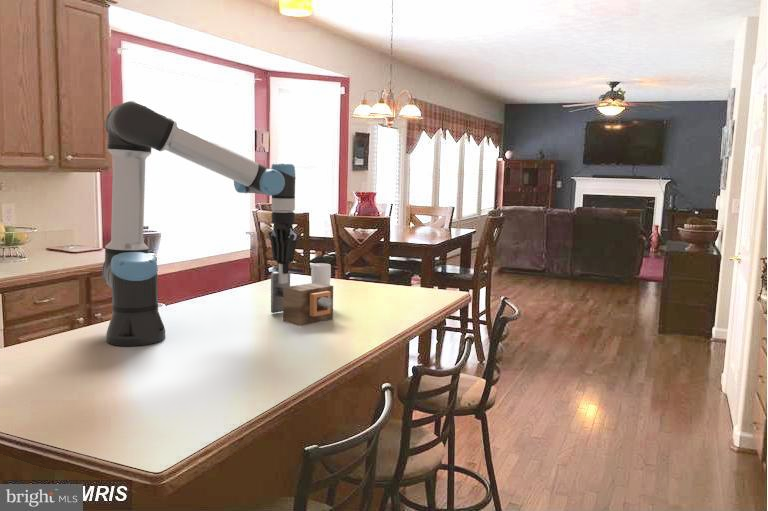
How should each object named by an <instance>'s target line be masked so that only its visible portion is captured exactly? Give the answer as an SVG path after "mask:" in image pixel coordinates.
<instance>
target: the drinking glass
mask: <svg viewBox="0 0 768 511" xmlns="http://www.w3.org/2000/svg"><path fill="white" fill-rule="evenodd" d="M310 270H311V271H310V277H311V279H310V280H311V283H322V284H327V285H331V276H332V266H331V264H329V263H323V262H322V263H321V262H319V263H318V262H317V263H312V264H311V269H310Z"/></svg>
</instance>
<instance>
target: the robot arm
mask: <svg viewBox="0 0 768 511" xmlns="http://www.w3.org/2000/svg"><path fill="white" fill-rule="evenodd" d="M104 127H105V131H106V135H107V152H109V153H110V155H111V156H112V187H111V189H112V191H111V193H112V195H111V228H110V229H111V233H110V242H108V243H107V244H105V246H104V247H105V248H104V249H105V250H104V260H103V261H104V262H103V265H102V267H101V272H102V278H103V279H104V282H105V283H106V285H107V286H108V287H109V288H110V289H111V298H112V299H111V305H112V315H111V317H110V321H109V324H108V327H107V330H106V334H105V335H106V343H107V344H109V345H112V346H118V347H119V346H120V347H137V346H147V345H151V344H156V343H160V342H162V341H164V340H165V339H166V328H165V325H164V323H163V321H162V317H161V315H160V312H159V295H158V293H159V291H158V290H159V288H158V286H159V285H158V271H159V267H158V262H157V258H156V257H155V256H154V255H153V254H151V253H149V247H148V245H147V244H145V242H144V224H145V223H144V222H145V219H144V218H145V191H146V190H145V188H146V187H145V186H146V159H147V158H148V157H149V156H151V155H152V149H154V150H156V151H159V152H163V151H168V152H169V153H172V154H174V155H176V156H178V157H181V158H182V159H185V160H187V161H190V162H192V163H194V164H196V165H198V166H201V167H203V168H206V169H208V170H209V171H212V172H214V173H216V174H219V175H220V176H223V177H226V178H228V179H230V180H232V181H233V186H234V189H235V191H236V192H237V193H239V194H258V195H266V196H270V197H271V203H270V204H271V208H270V209H271V211H273V212H271V224H273V229H272V231H271V230H270V231H268V235H269V239H270V245H271V252H272V258H273V261H275V262H276V263H277V273H279V282H278V283H279V284H284V283H288V272H290V270H289V264H290V263H293V262H294V260H295V258H294V257H295V254H296V253H295V252H296V246H297V241H298V239H299V237H300V236H299V234H298V233H295V232H294V227H293V225H294V224H295V223H296V213H295V210H296V202H295V201H296V199H295V198H296V179H297V178H296V169H295V164H293V163H275V162H274V163H272V164H271V168H269V167H267V166H264V165H263V164H259V163H258V162H256V161H254V160H252V159H250V158H248V157H246V156H243V155H241V154H239V153H237V152H235V151H233V150H231V149H229V148H226V147H224V146H222V145H220V144H218V143H217V142H214V141H212V140H209V139H208V138H206V137H203V136H201V135H199V134H197V133H195V132H193V131H191V130H188V129H187V128H185V127H183V126H180V125H179V124H177V121H176V119H175V118H172V117H170V116H168V115H167V114H165V113H163V112H161V111H160V110H157V109H156V108H154V107H153V106H150V105H149V104H147V103H146V102H145V103H144V102H141V101H137V100H131V101H125V102H123V103H120V104H118V105H117V106H114V107H113V108H112V109H111V110H110V111H109V113H108V115H107V117H106V118H105V126H104Z"/></svg>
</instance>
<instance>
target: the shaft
mask: <svg viewBox="0 0 768 511" xmlns="http://www.w3.org/2000/svg"><path fill="white" fill-rule="evenodd" d="M278 282H279V273H278V272H272V273H270V313H271V314H275V313H280V312H282V313H283V287H290V286H291V271H289V272H288V283H284V284H279V283H278ZM332 303H333V304H334V300H333V301H332V299H331V298H326V297H319V298H317V305H318V306H322V307H326V308H330V307H331V306H332Z"/></svg>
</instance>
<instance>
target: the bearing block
mask: <svg viewBox="0 0 768 511" xmlns="http://www.w3.org/2000/svg"><path fill="white" fill-rule="evenodd" d="M322 291H330V292H331V299H332V301H333V303H332V306H331V309H330V313H329V314H324V315H319V316H310V293H316V292H322ZM321 309H323V307H322V306H318V305H317V310H321ZM282 313H283V316H282V317H283V318H282V321H283V322H285V323H289V324H291V323H292V324H293V325H295V326H300V327H302V326H305V325H312V324H314V323H315V324H316V323H319V322H324V321H330V320H333V319H334V285H331V284H330V285H327V284H322V283H312V282H310V283H305V284H298V285H297V284H296V285H290V287H283V311H282Z"/></svg>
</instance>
